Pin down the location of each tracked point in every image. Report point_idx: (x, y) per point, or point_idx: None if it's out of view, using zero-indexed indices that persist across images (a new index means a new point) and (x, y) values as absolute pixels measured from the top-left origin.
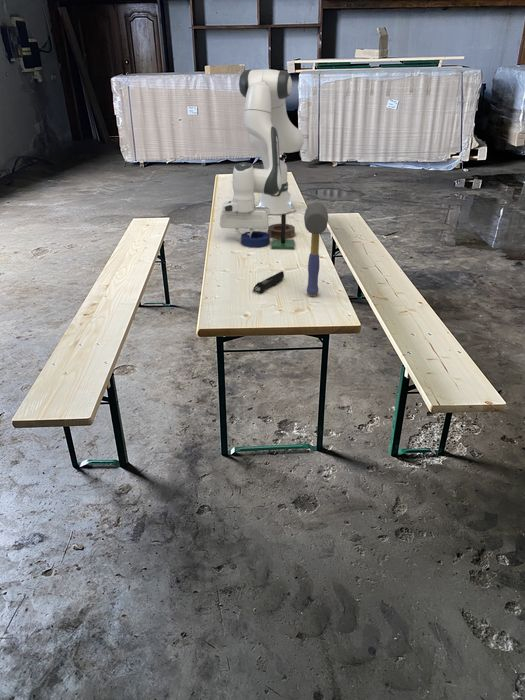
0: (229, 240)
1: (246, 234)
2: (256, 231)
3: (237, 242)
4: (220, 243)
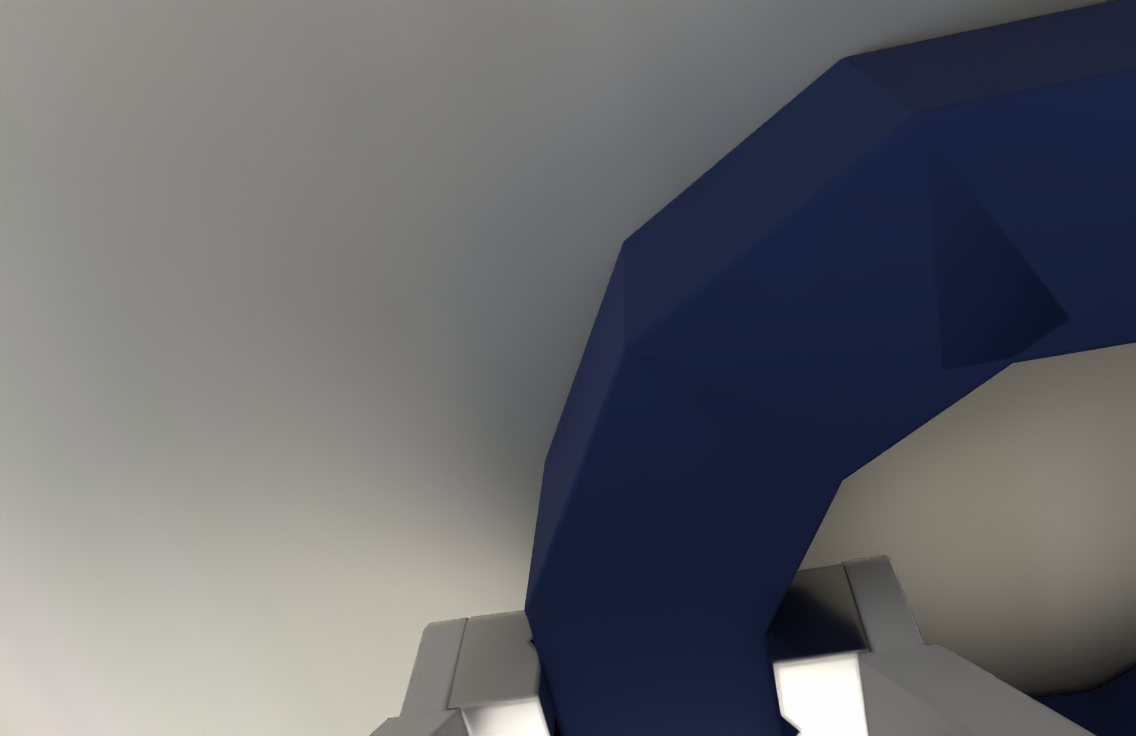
0: (116, 458)
1: (717, 629)
2: (1116, 128)
3: (430, 562)
4: (17, 723)
